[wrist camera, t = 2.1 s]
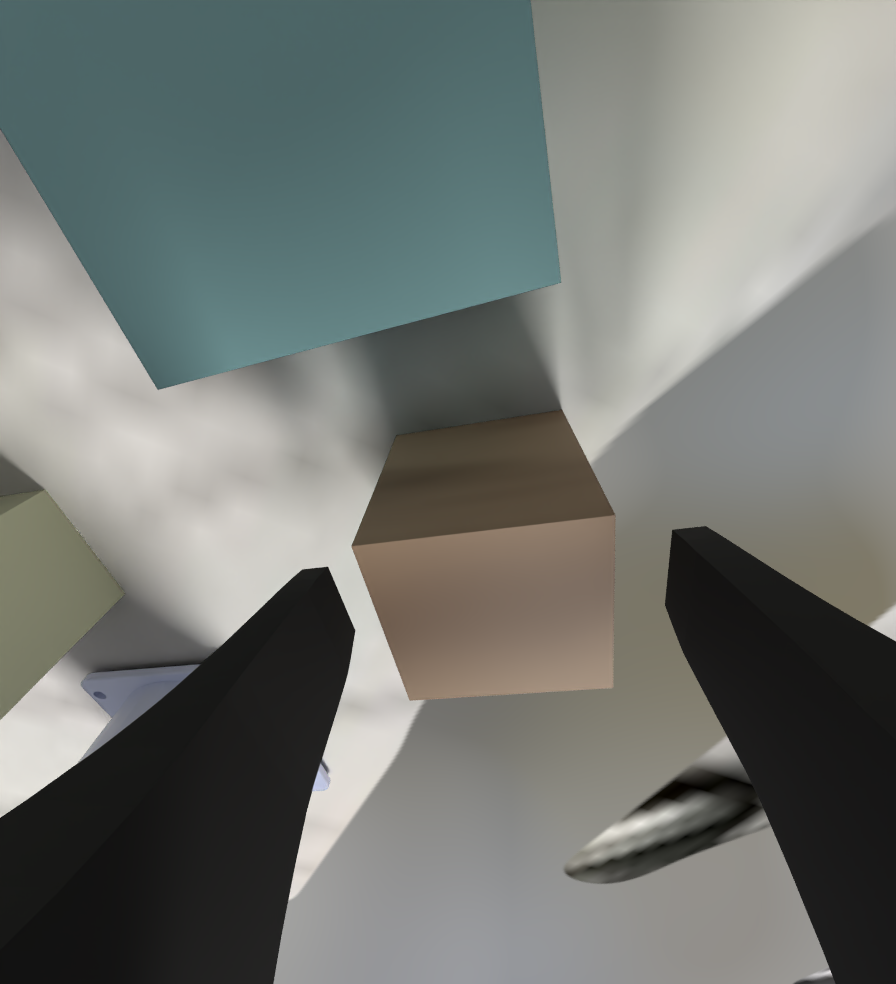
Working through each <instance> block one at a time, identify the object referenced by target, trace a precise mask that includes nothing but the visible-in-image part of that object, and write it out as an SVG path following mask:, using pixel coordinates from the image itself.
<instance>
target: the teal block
mask: <svg viewBox="0 0 896 984" xmlns="http://www.w3.org/2000/svg"><path fill="white" fill-rule="evenodd" d="M0 129H1V130H2V132H3V134H4V135H5V137H6V139H7V140H8V142H9V144H10V145H11V147H12V149H13V150H14V152H15V154H16V155H17V157H18V159H19V160H20V162H21V164H22V165H23V167H24V169H25V170H26V172H27V174H28V175H29V177H30V179H31V180H32V182H33V183H34V185H35V187H36V188H37V190H38V192H39V193H40V195H41V197H42V198H43V200H44V202H45V203H46V205H47V207H48V208H49V210H50V212H51V213H52V215H53V217H54V218H55V220H56V222H57V223H58V225H59V227H60V228H61V230H62V232H63V233H64V235H65V237H66V238H67V240H68V242H69V243H70V245H71V247H72V248H73V250H74V252H75V253H76V255H77V256H78V258H79V260H80V261H81V263H82V265H83V266H84V268H85V270H86V271H87V273H88V275H89V276H90V278H91V280H92V281H93V283H94V285H95V286H96V288H97V290H98V291H99V293H100V295H101V296H102V298H103V300H104V301H105V303H106V305H107V306H108V308H109V310H110V311H111V313H112V315H113V316H114V318H115V320H116V321H117V323H118V324H119V326H120V328H121V329H122V331H123V333H124V334H125V336H126V338H127V339H128V341H129V343H130V344H131V346H132V348H133V349H134V351H135V353H136V354H137V356H138V358H139V359H140V361H141V363H142V364H143V366H144V368H145V369H146V371H147V373H148V374H149V376H150V378H151V379H152V381H153V383H154V384H155V386H156V388H157V389H158V390H159V389H163V388H167V387H170V386H174V385H178V384H182V383H185V382H189V381H193V380H197V379H200V378H204V377H208V376H212V375H215V374H219V373H223V372H227V371H231V370H234V369H238V368H242V367H246V366H249V365H253V364H257V363H261V362H264V361H268V360H272V359H276V358H280V357H283V356H287V355H291V354H295V353H298V352H302V351H306V350H310V349H313V348H317V347H321V346H325V345H328V344H332V343H336V342H340V341H344V340H347V339H351V338H355V337H359V336H362V335H366V334H370V333H374V332H377V331H381V330H385V329H389V328H392V327H396V326H400V325H404V324H408V323H411V322H415V321H419V320H423V319H426V318H430V317H434V316H438V315H441V314H445V313H449V312H453V311H456V310H460V309H464V308H468V307H472V306H475V305H479V304H483V303H487V302H490V301H494V300H498V299H502V298H505V297H509V296H513V295H517V294H520V293H524V292H528V291H532V290H536V289H539V288H543V287H547V286H551V285H554V284H558V283H561V276H560V267H559V258H558V249H557V240H556V230H555V221H554V212H553V203H552V194H551V184H550V175H549V166H548V157H547V148H546V139H545V129H544V120H543V111H542V102H541V93H540V83H539V74H538V65H537V56H536V47H535V38H534V28H533V19H532V10H531V1H530V0H0Z"/></svg>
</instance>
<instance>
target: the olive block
mask: <svg viewBox="0 0 896 984" xmlns="http://www.w3.org/2000/svg"><path fill="white" fill-rule="evenodd" d="M124 594H125V593H124V591H123V590H122V589H121V588H120V586H119V585H118V584H117V582H116V581H115V580H114V578H113V577H112V576H111V575H110V573H109V572H108V571H107V569H106V568H105V567H104V565H103V564H102V563H101V561H100V560H99V559H98V558H97V556H96V555H95V554H94V552H93V551H92V550H91V548H90V547H89V546H88V545H87V543H86V542H85V541H84V539H83V538H82V537H81V535H80V534H79V533H78V531H77V530H76V529H75V528H74V526H73V525H72V524H71V522H70V521H69V520H68V518H67V517H66V516H65V515H64V513H63V512H62V511H61V509H60V508H59V507H58V505H57V504H56V503H55V501H54V500H53V499H52V498H51V496H50V495H49V494H48V492H47V491H46V490H39V491H32V492H26V493H19V494H13V495H6V496H0V720H1V719H2V718H3V717H4V716H5V715H6V714H7V713H8V712H9V711H10V710H11V709H12V708H13V707H14V706H15V705H16V704H17V703H18V702H19V701H20V700H21V698H22V697H23V696H24V695H25V694H26V693H27V692H28V691H29V690H30V689H31V688H32V687H33V686H34V685H35V684H36V683H37V682H38V681H39V680H40V679H41V678H42V677H43V676H44V675H45V674H46V673H47V672H48V671H49V670H50V669H51V668H52V667H53V666H54V665H55V664H56V663H57V662H58V661H59V660H60V659H61V658H62V657H63V656H64V655H65V654H66V653H67V652H68V651H69V650H70V649H71V648H72V647H73V646H74V645H75V644H76V643H77V642H78V641H79V640H80V639H81V638H82V637H83V636H84V635H85V634H86V633H87V632H88V631H89V630H90V629H91V628H92V627H93V626H94V625H95V624H96V623H97V622H98V621H99V620H100V619H101V618H102V617H103V616H104V615H105V614H106V613H107V612H108V611H109V610H110V609H111V608H112V607H113V606H114V605H115V604H116V603H117V602H118V601H119V599H120V598H121V597H122V596H123V595H124Z"/></svg>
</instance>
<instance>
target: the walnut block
mask: <svg viewBox="0 0 896 984" xmlns="http://www.w3.org/2000/svg"><path fill="white" fill-rule="evenodd" d="M352 549H353V552H354V554H355V557H356V560H357V562H358V565H359V568H360V570H361V573H362V575H363V578H364V581H365V583H366V586H367V589H368V591H369V594H370V597H371V599H372V602H373V605H374V607H375V610H376V613H377V615H378V618H379V620H380V623H381V626H382V628H383V631H384V634H385V636H386V639H387V642H388V644H389V647H390V650H391V652H392V655H393V658H394V660H395V663H396V665H397V668H398V671H399V673H400V676H401V679H402V681H403V684H404V687H405V689H406V692H407V695H408V697H409V700H427V699H442V698H458V697H475V696H489V695H506V694H523V693H539V692H555V691H571V690H587V689H603V688H613V658H614V656H613V655H614V654H613V653H614V652H613V651H614V583H615V578H614V577H615V513H614V512H613V510H612V508H611V506H610V504H609V502H608V500H607V498H606V496H605V494H604V492H603V490H602V488H601V486H600V484H599V482H598V480H597V478H596V476H595V474H594V472H593V470H592V468H591V466H590V464H589V462H588V460H587V458H586V456H585V454H584V452H583V450H582V448H581V446H580V444H579V442H578V440H577V438H576V436H575V434H574V432H573V430H572V428H571V426H570V424H569V422H568V420H567V419H566V417H565V415H564V413H563V411H562V410H558V411H552V412H545V413H539V414H532V415H526V416H519V417H513V418H506V419H500V420H493V421H487V422H480V423H474V424H467V425H461V426H454V427H448V428H441V429H435V430H429V431H422V432H416V433H409V434H403V435H396V438H395V440H394V443H393V445H392V448H391V450H390V453H389V455H388V458H387V460H386V462H385V465H384V467H383V470H382V472H381V475H380V477H379V480H378V482H377V485H376V487H375V490H374V492H373V495H372V497H371V499H370V502H369V504H368V507H367V509H366V512H365V514H364V517H363V519H362V522H361V524H360V527H359V529H358V532H357V534H356V536H355V539H354V541H353V544H352Z"/></svg>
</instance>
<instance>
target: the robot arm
mask: <svg viewBox="0 0 896 984" xmlns="http://www.w3.org/2000/svg"><path fill="white" fill-rule="evenodd" d="M665 606H666V609H667V612H668V614H669V617H670V620H671V622H672V625H673V628H674V630H675V633H676V636H677V638H678V641H679V643H680V646H681V648H682V651H683V653H684V655H685V657H686V659H687V661H688V663H689V665H690V667H691V669H692V671H693V672H694V674H695V676H696V678H697V680H698V682H699V684H700V686H701V688H702V690H703V691H704V693H705V695H706V697H707V699H708V701H709V703H710V705H711V707H712V708H713V710H714V712H715V714H716V716H717V718H718V720H719V722H720V723H721V725H722V727H723V729H724V731H725V733H726V735H727V737H728V738H729V740H730V742H731V744H732V746H733V748H734V750H735V752H736V754H737V755H738V757H739V759H740V761H741V763H742V765H743V767H744V769H745V770H746V772H747V774H748V776H749V779H750V781H751V783H752V785H753V787H754V789H755V791H756V793H757V795H758V797H759V799H760V801H761V803H762V806H763V808H764V810H765V813H766V815H767V817H768V820H769V822H770V824H771V827H772V829H773V831H774V834H775V836H776V838H777V841H778V843H779V845H780V848H781V850H782V852H783V854H784V857H785V859H786V862H787V864H788V866H789V869H790V871H791V874H792V876H793V879H794V881H795V883H796V886H797V888H798V891H799V893H800V896H801V898H802V901H803V903H804V906H805V908H806V910H807V913H808V915H809V918H810V920H811V923H812V925H813V928H814V930H815V933H816V935H817V937H818V940H819V942H820V945H821V947H822V950H823V952H824V955H825V957H826V960H827V963H828V965H829V968H830V970H831V973H832V976H833V978H834V981H835V983H836V984H896V641H894V640H892V639H890V638H889V637H887V636H885V635H883V634H881V633H880V632H878V631H876V630H874V629H873V628H871V627H869V626H867V625H865V624H864V623H862V622H860V621H858V620H856V619H855V618H853V617H851V616H850V615H848V614H846V613H844V612H843V611H841V610H839V609H838V608H836V607H834V606H832V605H831V604H829V603H827V602H826V601H824V600H822V599H821V598H819V597H818V596H816V595H814V594H813V593H811V592H809V591H808V590H806V589H804V588H803V587H801V586H800V585H798V584H796V583H795V582H793V581H791V580H790V579H788V578H787V577H785V576H783V575H782V574H780V573H779V572H777V571H775V570H774V569H772V568H771V567H769V566H768V565H766V564H764V563H763V562H762V561H760V560H758V559H757V558H755V557H754V556H752V555H751V554H749V553H747V552H746V551H744V550H743V549H741V548H740V547H738V546H736V545H735V544H733V543H732V542H730V541H729V540H727V539H726V538H724V537H723V536H721V535H719V534H718V533H716V532H714V531H713V530H711V529H709V528H708V527H706V526H704V527H694V528H685V529H676V530H672V538H671V548H670V559H669V569H668V579H667V589H666V600H665ZM354 635H355V629H354V627H353V624H352V622H351V620H350V617H349V615H348V613H347V610H346V608H345V606H344V603H343V601H342V599H341V596H340V594H339V592H338V589H337V587H336V585H335V582H334V580H333V577H332V575H331V573H330V570H329V568H328V567H322V568H312V569H303V570H301V571H300V572H299V573H298V574H297V575H296V576H294V577H293V578H292V579H291V580H290V581H289V582H288V583H287V584H286V585H285V586H283V587H282V588H281V589H280V590H279V591H278V592H277V593H276V594H275V595H274V596H273V597H272V598H271V599H270V600H269V601H268V602H267V603H266V604H265V605H264V606H263V607H262V608H261V609H259V610H258V611H257V612H256V613H255V614H254V615H253V616H252V617H251V618H250V619H249V620H248V621H247V622H246V623H245V624H244V625H243V626H242V627H241V628H240V629H239V630H237V631H236V632H235V633H234V634H233V635H232V636H231V637H230V638H229V639H228V640H227V641H226V642H225V643H224V644H223V645H222V646H221V647H219V648H218V649H217V650H216V651H215V652H214V653H213V654H212V655H211V656H209V657H208V658H207V659H206V660H205V661H204V662H203V663H202V664H197V665H184V666H171V667H159V668H146V669H134V670H121V671H109V672H96V673H90V674H88V675H87V676H86V677H85V679H84V680H83V681H82V682H81V685H82V687H83V689H84V690H85V691H86V692H87V693H88V694H89V695H90V696H91V697H92V698H93V699H94V700H95V701H96V702H97V703H98V704H99V705H100V706H101V707H102V708H103V709H104V710H105V711H106V712H107V713H108V714H109V715H110V716H111V717H112V719H111V720H110V721H109V723H108V724H107V725H106V727H105V728H104V729H103V731H102V732H101V733H100V735H99V736H98V737H97V738H96V740H95V741H94V742H93V744H92V745H91V746H90V748H89V749H88V750H87V752H86V753H85V754H84V756H83V757H82V758H81V759H80V761H79V762H78V763H77V764H76V765H75V766H73V767H72V768H71V769H69V770H68V771H66V772H65V773H64V774H62V775H61V776H60V777H58V778H57V779H55V780H54V781H53V782H51V783H50V784H48V785H47V786H46V787H44V788H43V789H41V790H40V791H39V792H37V793H36V794H34V795H33V796H32V797H30V798H29V799H27V800H26V801H24V802H23V803H22V804H20V805H19V806H17V807H16V808H14V809H13V810H11V811H10V812H8V813H7V814H5V815H4V816H2V817H1V818H0V984H273V982H274V976H275V970H276V964H277V958H278V953H279V946H280V940H281V935H282V929H283V924H284V919H285V913H286V909H287V904H288V899H289V893H290V888H291V883H292V878H293V873H294V868H295V863H296V858H297V854H298V849H299V845H300V840H301V835H302V831H303V826H304V822H305V817H306V812H307V808H308V804H309V801H310V797H311V793H312V791H323V790H326V789H328V787H329V784H330V777H329V776H328V774H327V772H326V771H325V769H324V768H323V766H322V764H321V760H322V757H323V753H324V750H325V747H326V744H327V741H328V737H329V734H330V731H331V728H332V725H333V721H334V718H335V715H336V712H337V708H338V705H339V702H340V698H341V695H342V692H343V689H344V685H345V682H346V678H347V675H348V670H349V664H350V659H351V654H352V647H353V641H354Z"/></svg>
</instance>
